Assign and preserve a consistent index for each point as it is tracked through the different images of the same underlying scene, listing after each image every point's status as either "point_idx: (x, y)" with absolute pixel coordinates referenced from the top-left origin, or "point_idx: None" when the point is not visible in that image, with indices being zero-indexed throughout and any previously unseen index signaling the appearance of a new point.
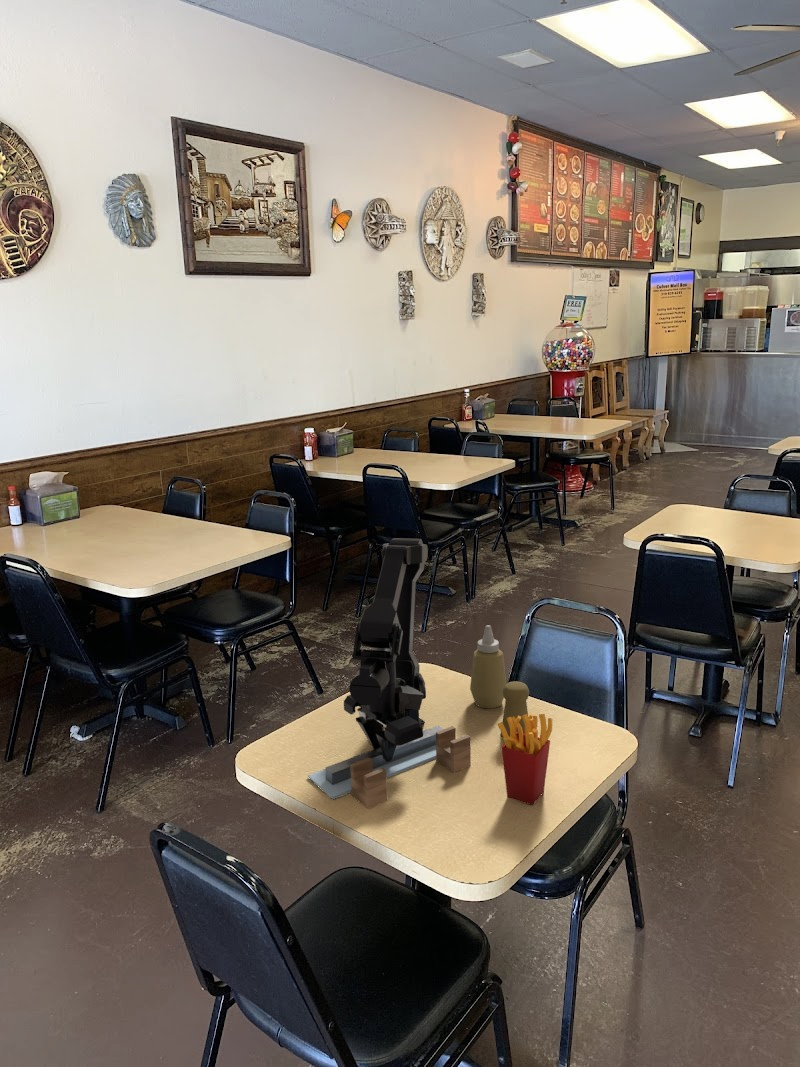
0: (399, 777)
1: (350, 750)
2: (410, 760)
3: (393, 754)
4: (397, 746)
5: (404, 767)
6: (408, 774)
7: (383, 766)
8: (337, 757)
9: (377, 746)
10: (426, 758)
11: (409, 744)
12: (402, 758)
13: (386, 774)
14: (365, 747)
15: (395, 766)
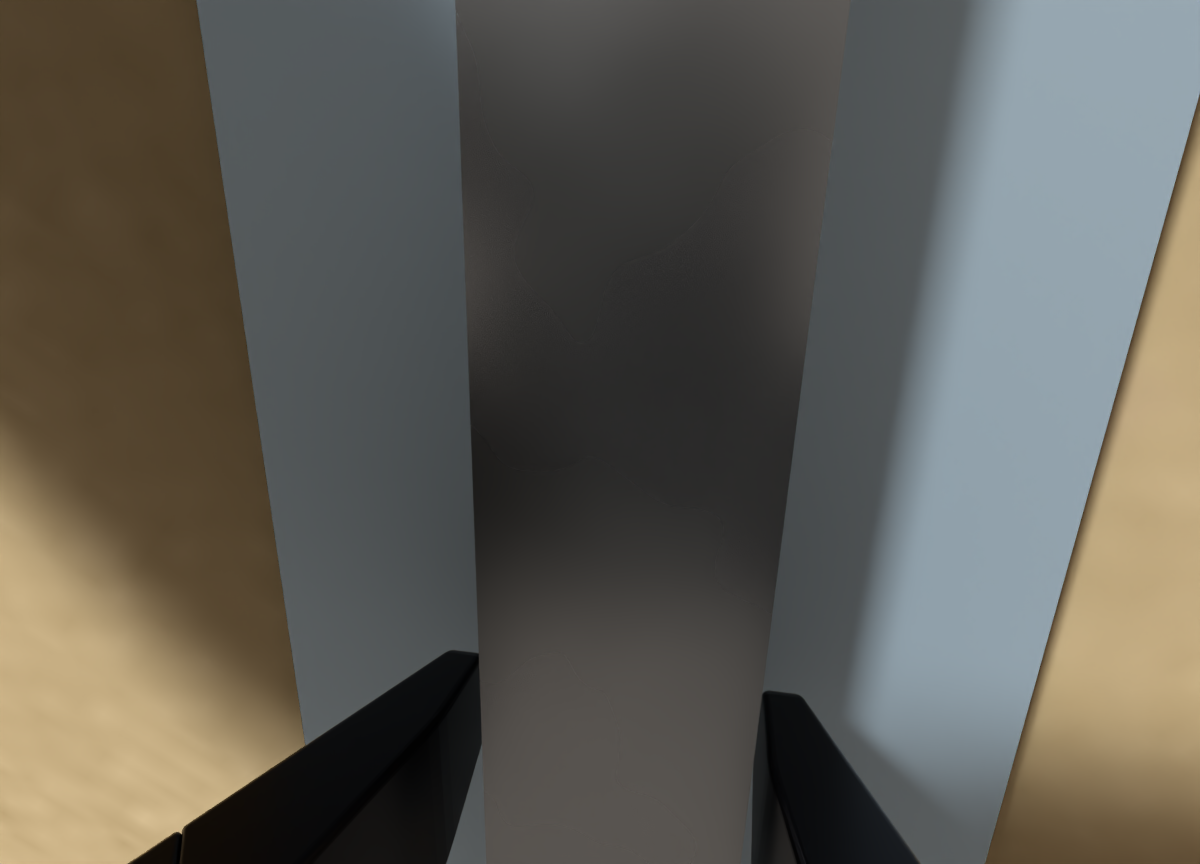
0: (1109, 714)
1: (95, 689)
2: (951, 346)
3: (854, 771)
4: (690, 571)
5: (1045, 574)
6: (1173, 578)
7: None
8: None
9: (432, 824)
10: (1189, 19)
11: (811, 273)
12: None
13: (966, 856)
14: (104, 525)
15: (898, 651)
